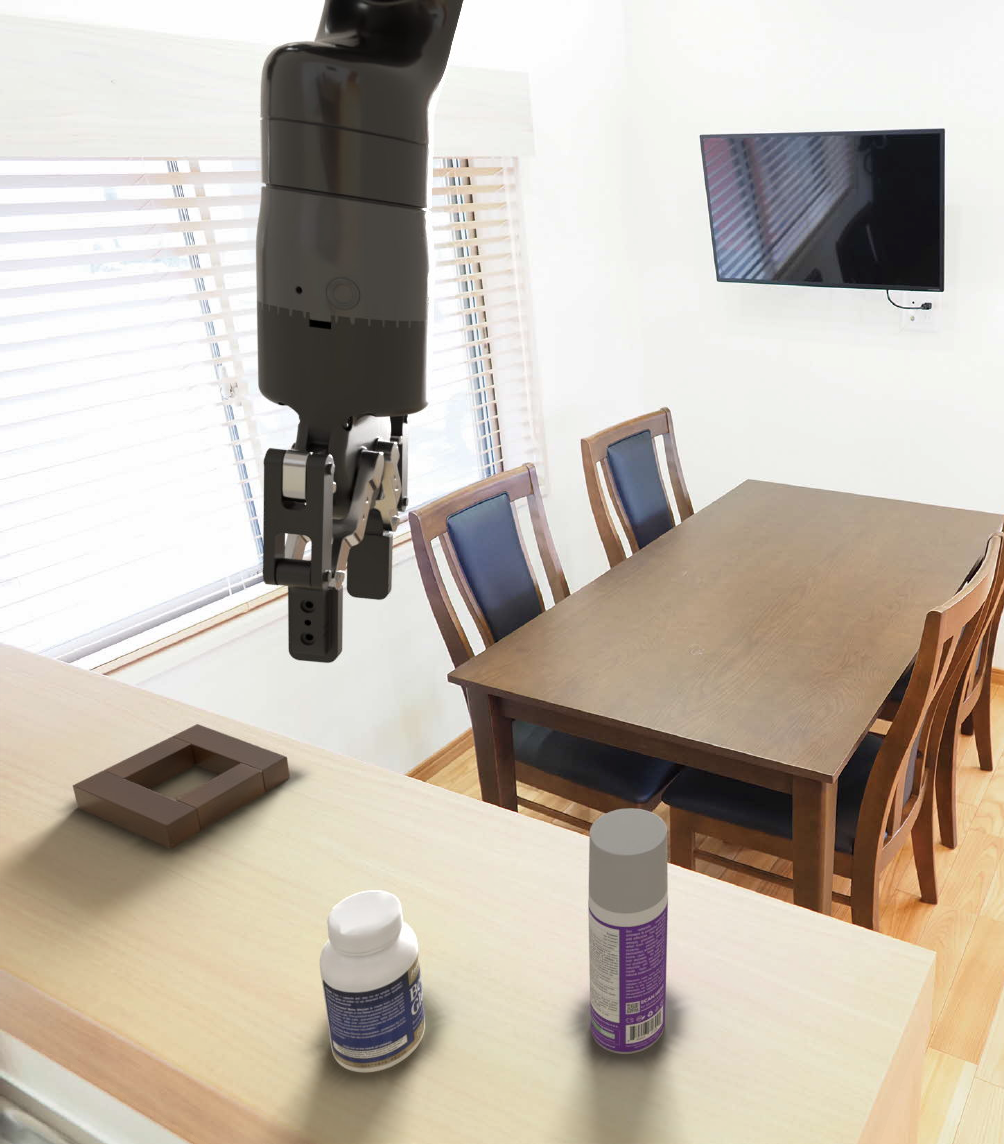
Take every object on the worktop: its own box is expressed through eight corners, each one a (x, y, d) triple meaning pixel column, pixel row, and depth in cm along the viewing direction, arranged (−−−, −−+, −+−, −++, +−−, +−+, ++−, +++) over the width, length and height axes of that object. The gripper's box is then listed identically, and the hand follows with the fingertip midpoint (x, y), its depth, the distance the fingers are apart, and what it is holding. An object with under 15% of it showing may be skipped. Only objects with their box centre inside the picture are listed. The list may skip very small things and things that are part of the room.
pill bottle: (435, 1054, 59) (423, 926, 55) (340, 1091, 56) (321, 959, 52) (415, 993, 63) (402, 871, 59) (325, 1025, 60) (306, 898, 57)
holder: (172, 852, 74) (166, 825, 73) (78, 811, 78) (72, 785, 77) (290, 781, 84) (287, 756, 83) (201, 747, 88) (197, 723, 87)
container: (667, 999, 63) (671, 807, 58) (662, 1059, 59) (666, 858, 54) (595, 998, 63) (593, 805, 58) (585, 1058, 59) (581, 856, 53)
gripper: (316, 284, 51) (316, 573, 56) (189, 297, 38) (203, 676, 43) (462, 304, 52) (449, 587, 57) (389, 324, 39) (380, 692, 44)
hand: (344, 625), depth 50 cm, fingers open, 8 cm apart
